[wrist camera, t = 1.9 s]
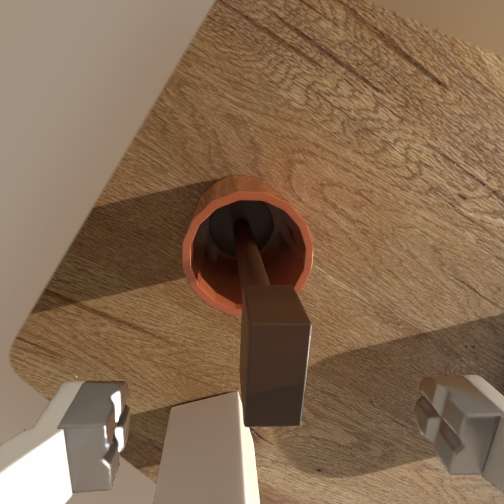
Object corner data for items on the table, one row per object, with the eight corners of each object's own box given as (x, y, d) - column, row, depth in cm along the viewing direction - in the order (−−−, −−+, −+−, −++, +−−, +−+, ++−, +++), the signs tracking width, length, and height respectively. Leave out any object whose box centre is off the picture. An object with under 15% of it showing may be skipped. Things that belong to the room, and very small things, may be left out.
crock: (194, 173, 28) (181, 189, 19) (287, 176, 29) (319, 194, 20) (194, 262, 31) (183, 316, 21) (281, 263, 32) (306, 316, 22)
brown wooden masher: (210, 190, 28) (185, 296, 9) (272, 192, 29) (376, 298, 10) (209, 250, 30) (187, 451, 11) (268, 251, 30) (350, 444, 11)
